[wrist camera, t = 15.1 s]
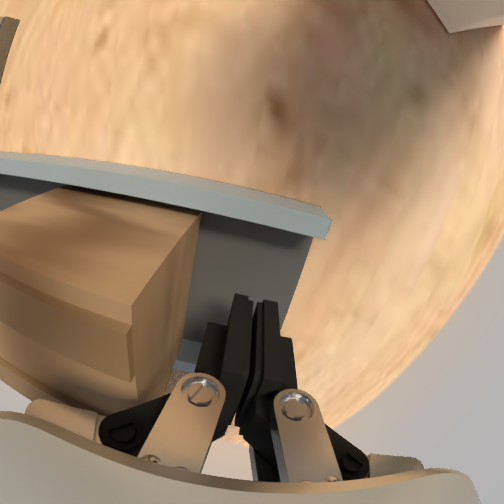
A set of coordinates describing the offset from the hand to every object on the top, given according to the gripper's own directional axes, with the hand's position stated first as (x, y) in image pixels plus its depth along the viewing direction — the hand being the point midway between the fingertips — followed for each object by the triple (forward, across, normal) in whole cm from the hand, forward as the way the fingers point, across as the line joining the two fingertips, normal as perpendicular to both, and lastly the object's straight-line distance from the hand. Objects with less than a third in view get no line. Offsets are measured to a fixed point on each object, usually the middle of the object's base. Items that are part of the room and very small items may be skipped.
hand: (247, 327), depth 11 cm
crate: (+3, +6, 0) cm, 7 cm away
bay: (+3, +8, 0) cm, 8 cm away
